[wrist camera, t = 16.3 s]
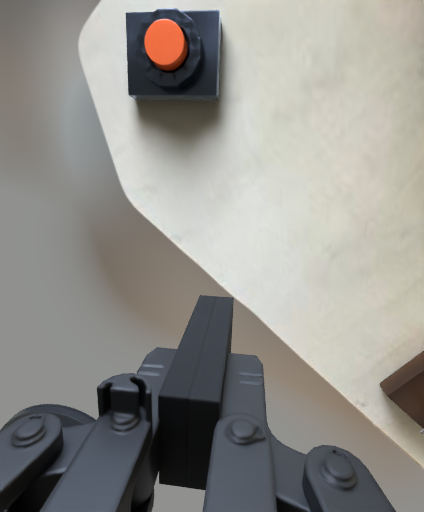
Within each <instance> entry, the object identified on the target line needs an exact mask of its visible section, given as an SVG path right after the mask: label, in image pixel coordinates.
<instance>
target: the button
mask: <svg viewBox="0 0 424 512" xmlns="http://www.w3.org/2000/svg"><path fill="white" fill-rule="evenodd" d="M144 44H145V50H146V53H147V55H148V56H149V58H150V59H151V60H152V61H153V63H154V64H155V65H156V66H157V67H158V68H160V69H162V70H166V71H171V70H174V69H176V68H178V67H179V66H180V65H181V64H182V63H183V62H184V60H185V58H186V55H187V42H186V39H185V37H184V35H183V33H182V30H181V29H180V27H179V26H178V25H177V24H176V23H175V22H173V21H171V20H168V19H160V20H157V21H155V22H154V23H153V24H151V26H150V27H149V28H148V30H147V32H146V35H145V41H144Z"/></svg>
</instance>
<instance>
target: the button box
mask: <svg viewBox="0 0 424 512" xmlns="http://www.w3.org/2000/svg"><path fill="white" fill-rule="evenodd" d="M160 19H168V20H171V21H173V22H175V23H176V24H177V25H178V26H179V27H180V29H181V30H182V33H183V35H184V37H185V39H186V42H187V55H186V58H185V60H184V62H183V63H182V64H181V65H180V66H179V67H178V68H176V69H174V70H171V71H166V70H162V69H160V68H158V67H157V66H156V65H155V64H154V63H153V61H152V60H151V59H150V58H149V56H148V55H147V53H146V50H145V44H144V41H145V35H146V32H147V30H148V28H149V27H150V26H151V24H153V23H154V22H155V21H157V20H160ZM126 32H127V61H128V91H129V96H131V97H132V98H134V99H135V100H219V70H220V40H221V17H220V12H219V10H211V11H180V10H178V9H157V10H156V11H155V12H133V13H126Z"/></svg>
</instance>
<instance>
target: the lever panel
mask: <svg viewBox="0 0 424 512" xmlns="http://www.w3.org/2000/svg"><path fill="white" fill-rule="evenodd" d="M380 385H381V387H382V388H383V390H384V392H385V393H386V395H387V396H388V397H389V398H390V399H391V400H392V401H393V402H394V403H396V404H397V405H398V406H399V407H400V408H401V409H402V410H403V411H404V412H406V413H407V414H408V415H409V416H410V417H411V418H412V419H413V420H414V421H415V422H417V423H418V424H419V425H420V426H421V427H422V428H423V429H422V430H421V431H420V433H421V434H423V433H424V351H423V352H422V353H420V354H419V355H418V356H416V357H415V358H414V359H412V360H411V361H410V362H408V363H407V364H405V365H404V366H403V367H401V368H400V369H399V370H397V371H396V372H395V373H393V374H392V375H391V376H389V377H388V378H387V379H385V380H384V381H383V382H381V383H380Z"/></svg>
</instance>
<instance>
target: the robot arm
mask: <svg viewBox="0 0 424 512" xmlns="http://www.w3.org/2000/svg"><path fill="white" fill-rule="evenodd" d="M233 299H234V298H229V297H215V296H201V295H200V297H199V299H198V301H197V304H196V306H195V309H194V311H193V313H192V316H191V318H190V320H189V323H188V325H187V328H186V330H185V332H184V335H183V337H182V340H181V342H180V344H179V347H178V349H168V348H156V349H155V350H153V351H152V352H150V353H149V354H148V355H147V356H146V357H145V359H144V361H143V363H142V365H141V366H140V368H139V370H138V371H137V374H134V373H133V374H132V373H130V374H120V375H116V376H113V377H111V378H109V379H107V380H105V381H103V382H102V383H101V384H100V385H99V386H98V387H97V395H98V409H99V417H98V419H97V421H96V422H93V423H90V424H85V425H79V426H72V427H65V428H62V424H61V421H60V418H59V417H57V416H56V415H54V414H51V413H45V412H43V413H36V414H31V415H28V416H25V417H23V418H20V419H18V420H17V421H15V422H14V423H12V424H10V425H9V426H7V427H6V428H5V429H3V430H2V431H1V432H0V512H151V511H152V508H153V501H154V485H155V481H156V478H157V475H158V472H159V483H160V484H166V485H173V486H181V487H187V488H194V489H201V490H206V492H205V499H204V506H203V512H396V511H395V509H394V508H393V507H392V505H391V503H390V502H389V500H388V499H387V497H386V496H385V495H384V493H383V491H382V490H381V488H380V487H379V485H378V484H377V482H376V481H375V479H374V478H373V476H372V475H371V473H370V472H369V470H368V469H367V468H366V466H365V465H364V464H363V463H362V462H361V461H360V460H359V459H358V458H357V457H355V456H354V455H352V454H351V453H350V452H348V451H346V450H344V449H341V448H338V447H336V446H329V445H321V446H318V447H314V448H313V449H312V450H311V451H310V452H309V453H308V454H307V455H305V454H303V453H301V452H298V451H296V450H293V449H291V448H289V447H287V446H285V445H284V444H282V443H281V442H280V441H279V440H277V439H276V438H275V436H274V435H273V434H272V433H271V431H270V429H269V427H268V424H267V417H266V403H265V389H264V377H263V376H264V374H263V364H262V363H261V362H260V360H259V359H258V357H257V356H254V355H243V354H233V353H231V338H232V318H233Z"/></svg>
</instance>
